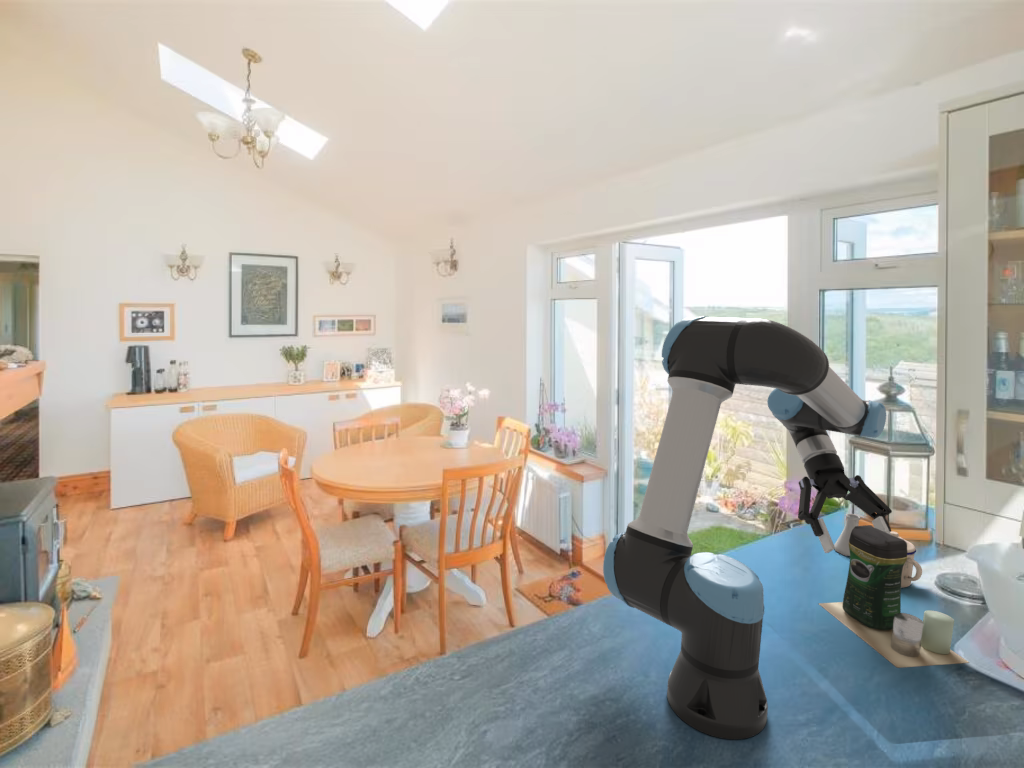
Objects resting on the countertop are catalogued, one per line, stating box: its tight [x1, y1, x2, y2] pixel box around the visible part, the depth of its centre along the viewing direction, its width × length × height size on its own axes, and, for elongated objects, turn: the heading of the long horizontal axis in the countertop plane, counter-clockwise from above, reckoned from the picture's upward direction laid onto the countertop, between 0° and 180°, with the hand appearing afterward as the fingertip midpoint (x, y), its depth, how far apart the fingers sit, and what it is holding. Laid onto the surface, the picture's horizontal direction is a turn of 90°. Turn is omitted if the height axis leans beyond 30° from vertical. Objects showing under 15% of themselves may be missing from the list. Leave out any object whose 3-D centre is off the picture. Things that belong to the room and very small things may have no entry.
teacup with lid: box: [890, 530, 923, 589], centre depth 129 cm, size 12×9×12 cm
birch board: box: [818, 601, 970, 669], centre depth 108 cm, size 14×21×2 cm, turn 7°
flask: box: [833, 513, 861, 557], centre depth 145 cm, size 7×7×10 cm
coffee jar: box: [842, 525, 907, 630], centre depth 110 cm, size 10×8×19 cm
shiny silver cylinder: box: [891, 612, 924, 657], centre depth 101 cm, size 4×4×6 cm
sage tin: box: [921, 609, 955, 654], centre depth 102 cm, size 4×4×6 cm
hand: (860, 549), depth 115 cm, fingers open, 13 cm apart
